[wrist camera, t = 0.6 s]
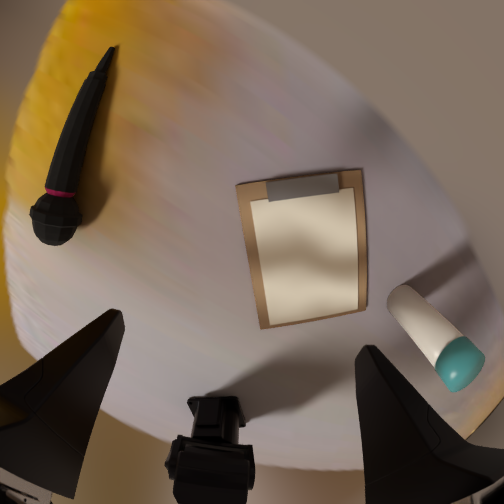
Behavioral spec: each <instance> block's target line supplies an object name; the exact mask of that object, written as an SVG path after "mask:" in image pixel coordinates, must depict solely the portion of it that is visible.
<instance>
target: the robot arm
mask: <svg viewBox="0 0 504 504" xmlns="http://www.w3.org/2000/svg"><path fill="white" fill-rule="evenodd" d="M124 331H125V325H124V320H123V315H122V312H121V311H120V310H116V309H109V310H108V311H106V312H105V313H103V314H102V315H101V316H99V317H98V318H96V319H95V320H93V321H92V322H91V323H89V324H88V325H86V326H85V327H84V328H82V329H81V330H79V331H78V332H77V333H75V334H74V335H72V336H71V337H70V338H68V339H67V340H66V341H64V342H63V343H61V344H60V345H59V346H57V347H56V348H55V349H53V350H52V351H51V352H49V353H48V354H47V355H45V356H44V357H43V358H41V359H40V360H38V361H37V362H36V363H34V364H33V365H32V366H30V367H29V368H27V369H26V370H24V371H23V372H21V373H20V374H18V375H17V376H15V377H13V378H12V379H10V380H8V381H7V382H5V383H3V384H2V385H0V504H53V503H52V502H51V497H52V493H56V494H59V495H62V496H64V497H67V498H71V499H74V496H75V492H76V487H77V483H78V479H79V475H80V471H81V468H82V463H83V460H84V456H85V453H86V449H87V446H88V442H89V439H90V436H91V433H92V429H93V426H94V423H95V420H96V417H97V414H98V411H99V408H100V405H101V402H102V400H103V397H104V394H105V391H106V389H107V386H108V383H109V381H110V378H111V375H112V373H113V370H114V367H115V364H116V360H117V356H118V353H119V349H120V345H121V342H122V338H123V335H124ZM355 379H356V399H357V406H358V414H359V422H360V431H361V440H362V451H363V462H364V476H365V498H366V499H365V500H366V504H504V449H497V448H489V447H482V446H476V445H473V444H470V443H468V442H467V441H466V440H464V439H463V438H462V437H461V436H460V435H459V434H458V433H457V432H456V431H455V430H454V429H453V428H452V427H450V426H449V425H448V424H447V423H446V422H445V421H444V420H443V419H442V418H441V417H440V416H439V415H438V414H437V412H436V411H435V410H434V409H433V408H432V407H431V406H430V405H429V404H428V403H427V401H426V400H425V399H424V398H423V397H422V396H421V395H420V394H419V393H418V391H417V390H416V389H415V388H414V387H413V386H412V385H411V384H410V383H409V381H408V380H407V379H406V378H405V377H404V376H403V375H402V374H401V373H400V372H399V371H398V369H397V368H396V367H395V366H394V365H393V364H392V363H391V362H390V361H389V360H388V359H387V358H386V357H385V355H384V354H383V353H382V352H381V351H380V350H379V349H378V348H377V347H376V346H375V345H364V346H363V348H362V349H361V351H360V352H359V354H358V355H357V357H356V359H355ZM187 404H188V406H189V408H190V410H191V412H192V414H193V416H194V422H193V428H192V433H191V438H190V437H185V436H183V435H178V436H177V439H175V440H174V441H172V446H171V450H170V452H169V455H168V457H167V459H166V461H165V467H166V468H167V470H168V474H169V479H171V480H174V486H173V495H174V497H175V499H176V501H177V503H178V504H246V502H247V494H248V490H252V489H253V486H254V481H255V463H254V455H253V447H252V445H240V444H238V439H239V428H241V427H245V426H246V422H245V419H244V416H243V413H242V410H241V407H240V404H239V401H238V398H237V397H219V398H197V399H188V401H187Z"/></svg>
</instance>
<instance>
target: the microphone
mask: <svg viewBox="0 0 504 504" xmlns="http://www.w3.org/2000/svg"><path fill="white" fill-rule="evenodd" d="M114 49H115V48H114V47H110V48H109V49H108V50H107V52H106V53H105V55H104V56H103V58H102V59H101V61H100V62H99V64H98V65H97V67H96V69H95V71H92V72H90V73H89V75H88V77H87V79H85V81H84V83H83V85H82V87H81V89H80V91H79V93H78V95H77V97H76V99H75V101H74V104H73V106H72V108H71V110H70V113H69V115H68V118H67V120H66V122H65V125H64V128H63V130H62V133H61V135H60V138H59V141H58V144H57V147H56V150H55V153H54V156H53V159H52V162H51V165H50V169H49V172H48V176H47V179H46V183H45V189H46V191H47V193H45V194H44V195H43V196H41V197H40V198H39V199H38V200H37V202H36V204H35V205H34V206H31V209H30V214H29V215H30V217H31V218H32V225H33V229H34V233H35V235H36V236H37V237H38V238H39V240H40V241H41V242H42V243H45V244H47V245H53V246H57V245H62V244H64V243H65V242H67V241H68V240H70V239H71V238H72V237H73V235H74V233H75V231H76V229H77V226H78V225H79V224H81V222H82V214H81V213H79V208H78V205H77V203H76V202H75V200H74V199H73V197H72V196H73V195H74V194H76V193H77V188H78V182H79V177H80V172H81V167H82V164H83V160H84V156H85V150H86V146H87V142H88V138H89V134H90V131H91V127H92V124H93V121H94V117H95V114H96V111H97V108H98V105H99V102H100V99H101V96H102V93H103V91H104V88H105V82H106V79H107V76H106V74H105V73H106V71H107V69H108V66H109V63H110V61H111V58H112V55H113V52H114Z"/></svg>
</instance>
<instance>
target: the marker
mask: <svg viewBox="0 0 504 504" xmlns="http://www.w3.org/2000/svg"><path fill="white" fill-rule="evenodd" d="M387 309H388V310H389V312H390V313H391V314H392V315H393V316H394V318H395V319H396V320H397V321H398V322H399V324H400V325H401V326H402V327H403V328H404V330H405V331H406V332H407V333H408V335H409V336H410V337H411V338H412V340H413V341H414V342H415V343H416V345H417V346H418V347H419V348H420V350H421V351H422V352H423V353H424V355H425V356H426V357H427V359H428V360H429V361H430V362H431V364H432V365H433V366H434V368H435V371H436V372H437V374H438V375H439V376H440V378H441V379H442V381H443V382H444V383H445V385H446V386H447V387H448V389H449V390H450V391H451V392H457V391H460V390H462V389H463V388H465V387H466V386H467V385H469V384H470V383H471V382H472V381H473V380H474V379H475V378H476V376H477V375H478V374H479V372H480V371H481V369H482V367H483V365H484V362H485V356H484V354H483V353H482V352H481V351H480V350H479V349H478V348H477V347H476V346H475V345H474V344H473V343H472V342H471V341H470V340H469V339H468V338H467V337H465V336H463V335H462V334H461V333H460V332H459V331H458V330H457V329H456V328H455V327H454V326H453V325H452V324H451V323H450V322H449V321H448V320H447V319H446V318H445V317H444V316H443V315H441V314H440V313H439V312H438V311H437V310H436V309H435V308H434V307H433V306H432V305H431V304H430V303H428V302H427V301H426V300H425V299H424V298H423V297H422V296H421V295H419V294H418V293H417V292H416V291H415V290H414V289H413V288H411V287H410V286H409V285H400V286H398V287H396V288H395V289H394V290H393V291H392V292H391V293H390V295H389V297H388V299H387Z"/></svg>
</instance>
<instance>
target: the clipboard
mask: <svg viewBox="0 0 504 504" xmlns="http://www.w3.org/2000/svg"><path fill="white" fill-rule="evenodd" d="M235 187H236V192H237V198H238V204H239V210H240V216H241V221H242V227H243V233H244V239H245V244H246V250H247V256H248V262H249V267H250V273H251V279H252V284H253V290H254V296H255V301H256V307H257V312H258V318H259V324H260V329H261V330H262V329H268V328H275V327H282V326H288V325H294V324H300V323H306V322H311V321H317V320H322V319H327V318H332V317H337V316H342V315H347V314H352V313H356V312H361V311H365V310H366V287H367V258H366V227H365V210H364V197H363V186H362V176H361V170H351V171H340V172H330V173H321V174H312V175H304V176H296V177H288V178H281V179H274V180H267V181H260V182H254V183H247V184H241V185H236V186H235Z"/></svg>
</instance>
